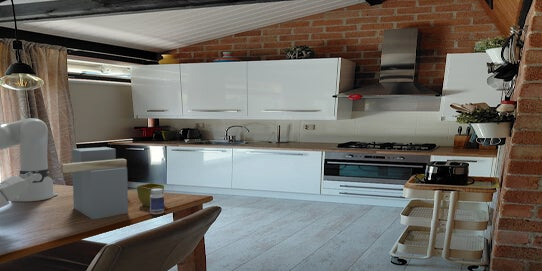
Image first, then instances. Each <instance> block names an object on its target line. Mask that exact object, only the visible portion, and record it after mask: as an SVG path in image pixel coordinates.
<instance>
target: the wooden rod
mask: <svg viewBox="0 0 542 271" xmlns="http://www.w3.org/2000/svg"><path fill="white" fill-rule="evenodd" d="M127 161H128V160H127V159H125V158H116V159H113V160H101V161H89V162H77V163H72V162H68V163H60V172H62V173H63V174H64V173H73V172H77V171H87V170H97V169H107V168H117V167H126V168H128V166H127V164H128V163H127Z"/></svg>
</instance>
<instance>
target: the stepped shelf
mask: <svg viewBox="0 0 542 271" xmlns="http://www.w3.org/2000/svg"><path fill="white" fill-rule="evenodd" d="M116 154H117V153H116V148H111V147H107V146H101V147H85V148H71V156H72V158H71V160H72V162H71V163H77V162H89V161H101V160H113V159H117V157H116V156H117V155H116ZM128 188H129V186H128V167H117V168H107V169H97V170H87V171H77V172H72V191H73V194H72V195H73V209H75V210H76V211H77V212H79V213H82V214H83V215H84V216H85V217H86V216H87V217H88V218H89V219H91V220H98V219H104V218H107V217H114V216H119V215H120V216H121V215H124V214H128V213H129V195H128V191H129V190H128Z"/></svg>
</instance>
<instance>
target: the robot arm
mask: <svg viewBox="0 0 542 271" xmlns="http://www.w3.org/2000/svg"><path fill="white" fill-rule="evenodd" d="M48 139H49V128H48V126H47V123H46V122H44V121H43V120H41V119H39V118H34V117H33V118H31V117H29V118H25V119H20V120H16V121H12V122H7V123H3V124H0V151H3V150H5V149H9V148H13V147H15V146H19V159H20V160H19V161H20V162H19V163H20V170H19V174H18V175H19V176H16V175H13V176H10V177H9V178H6V179H5V180H3V181H1V182H0V209H1V208H4V207H6V206H8V205H9V204H10V202H36V201H43V200H48V199H51V198H53V197H57V196H58V193H57V192H55V189H54V181H53V179H52V178H51V177H50V169H49V168H48V167H49V165H48V162H49V161H48V145H49V144H48V142H49V141H48Z"/></svg>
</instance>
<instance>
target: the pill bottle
mask: <svg viewBox="0 0 542 271" xmlns="http://www.w3.org/2000/svg"><path fill="white" fill-rule="evenodd" d="M162 192H163V194H162ZM151 193H152V194H151V195H150V206H149V213H150V214H151V215H160V214H163V213H164V212H165V195H164V191H163V189H159V188H158V189H152V190H151Z"/></svg>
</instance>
